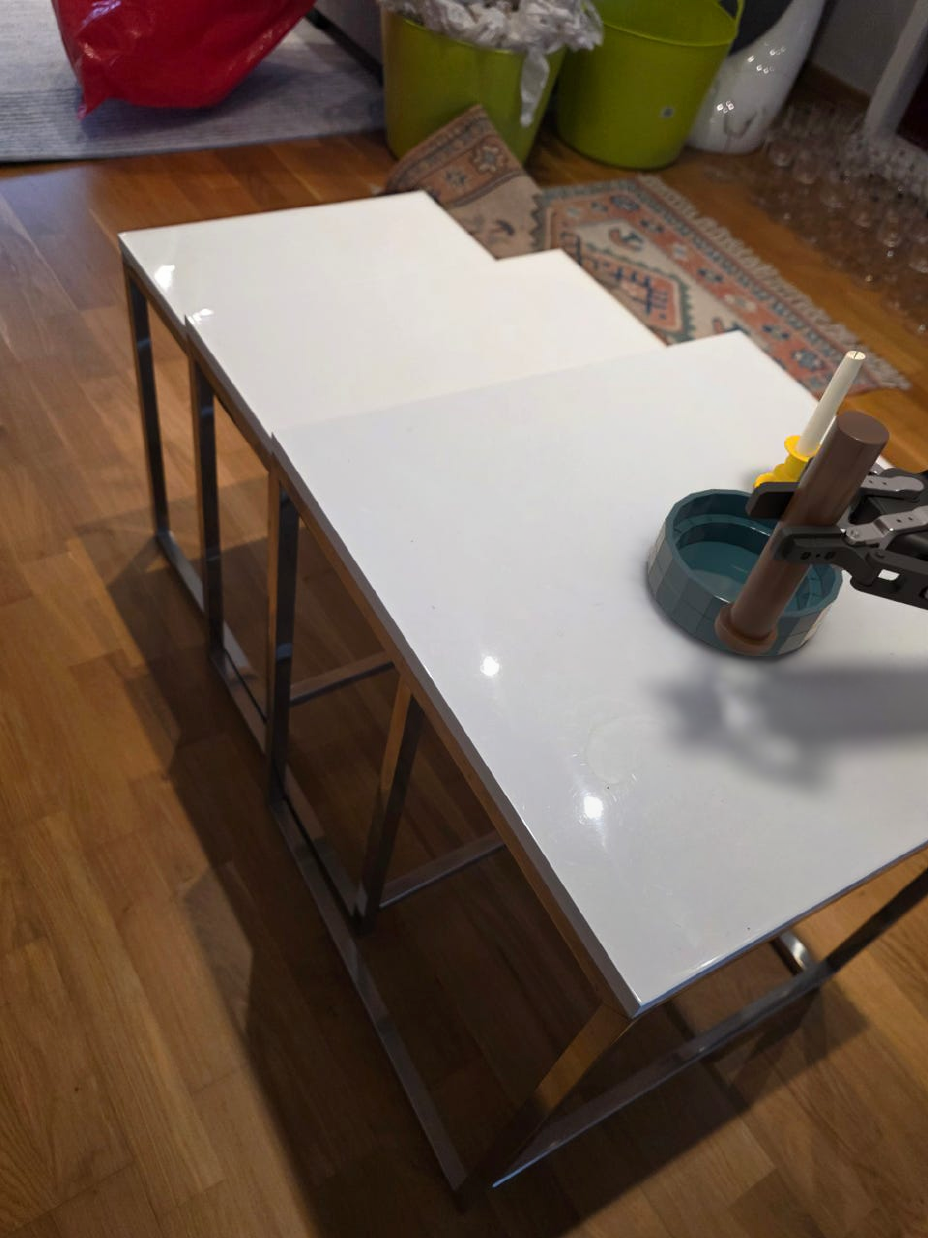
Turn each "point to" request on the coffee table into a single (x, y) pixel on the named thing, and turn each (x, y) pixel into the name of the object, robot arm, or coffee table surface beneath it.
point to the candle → (816, 423)
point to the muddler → (813, 503)
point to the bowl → (727, 569)
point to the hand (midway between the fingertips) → (765, 522)
